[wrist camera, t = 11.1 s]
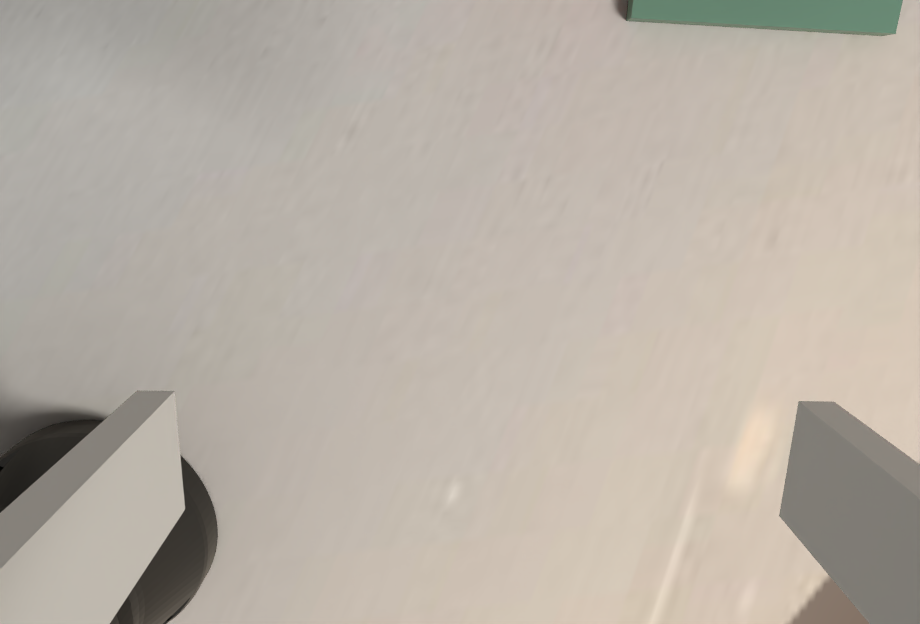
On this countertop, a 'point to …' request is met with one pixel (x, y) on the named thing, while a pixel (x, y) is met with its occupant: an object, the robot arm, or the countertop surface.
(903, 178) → the countertop surface
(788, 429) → the countertop surface
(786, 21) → the green board with ring
